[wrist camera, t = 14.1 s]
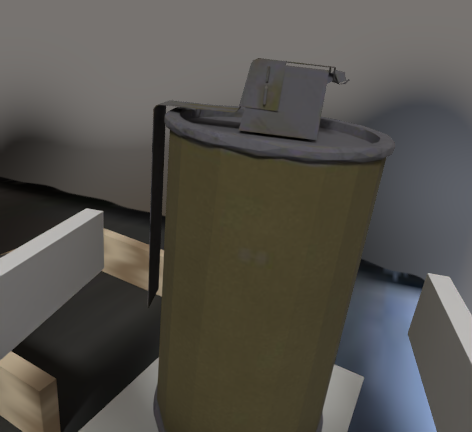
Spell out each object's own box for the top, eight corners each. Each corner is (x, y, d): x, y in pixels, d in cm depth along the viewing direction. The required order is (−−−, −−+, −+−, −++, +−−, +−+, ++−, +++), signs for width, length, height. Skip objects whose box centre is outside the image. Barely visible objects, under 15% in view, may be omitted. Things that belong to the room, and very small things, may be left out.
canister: (314, 358, 29) (379, 72, 22) (331, 503, 20) (458, 80, 12) (171, 335, 30) (187, 50, 23) (118, 465, 20) (117, 40, 13)
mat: (73, 442, 22) (73, 436, 21) (207, 316, 33) (208, 311, 33) (296, 596, 16) (297, 589, 16) (362, 382, 28) (364, 377, 28)
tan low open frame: (-96, 345, 27) (-109, 295, 25) (88, 258, 40) (86, 222, 39) (45, 448, 21) (39, 391, 20) (204, 306, 35) (207, 266, 33)
